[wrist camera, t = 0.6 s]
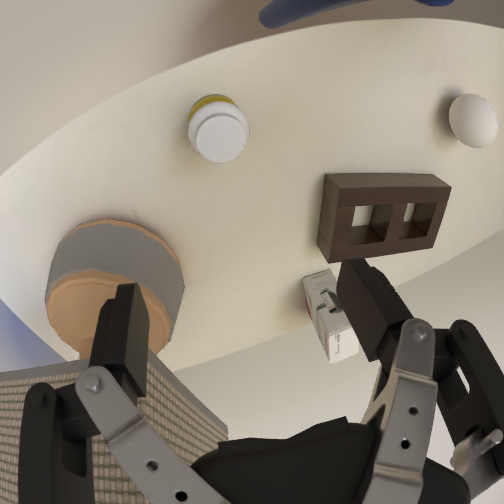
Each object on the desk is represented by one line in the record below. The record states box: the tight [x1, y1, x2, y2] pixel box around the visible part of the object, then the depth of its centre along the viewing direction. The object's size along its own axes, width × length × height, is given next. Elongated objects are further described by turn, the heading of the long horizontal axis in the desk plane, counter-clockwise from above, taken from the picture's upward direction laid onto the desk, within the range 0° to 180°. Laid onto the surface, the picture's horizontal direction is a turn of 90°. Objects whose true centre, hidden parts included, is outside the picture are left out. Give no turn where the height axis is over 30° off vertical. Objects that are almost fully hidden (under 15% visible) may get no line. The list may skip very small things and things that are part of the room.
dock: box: [317, 173, 452, 264], centre depth 38 cm, size 11×19×4 cm, turn 91°
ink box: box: [303, 270, 359, 364], centre depth 43 cm, size 9×5×12 cm, turn 13°
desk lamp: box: [0, 219, 228, 504], centre depth 24 cm, size 22×19×37 cm
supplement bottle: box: [188, 94, 250, 163], centre depth 25 cm, size 5×5×10 cm
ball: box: [449, 94, 498, 148], centre depth 29 cm, size 8×8×8 cm
